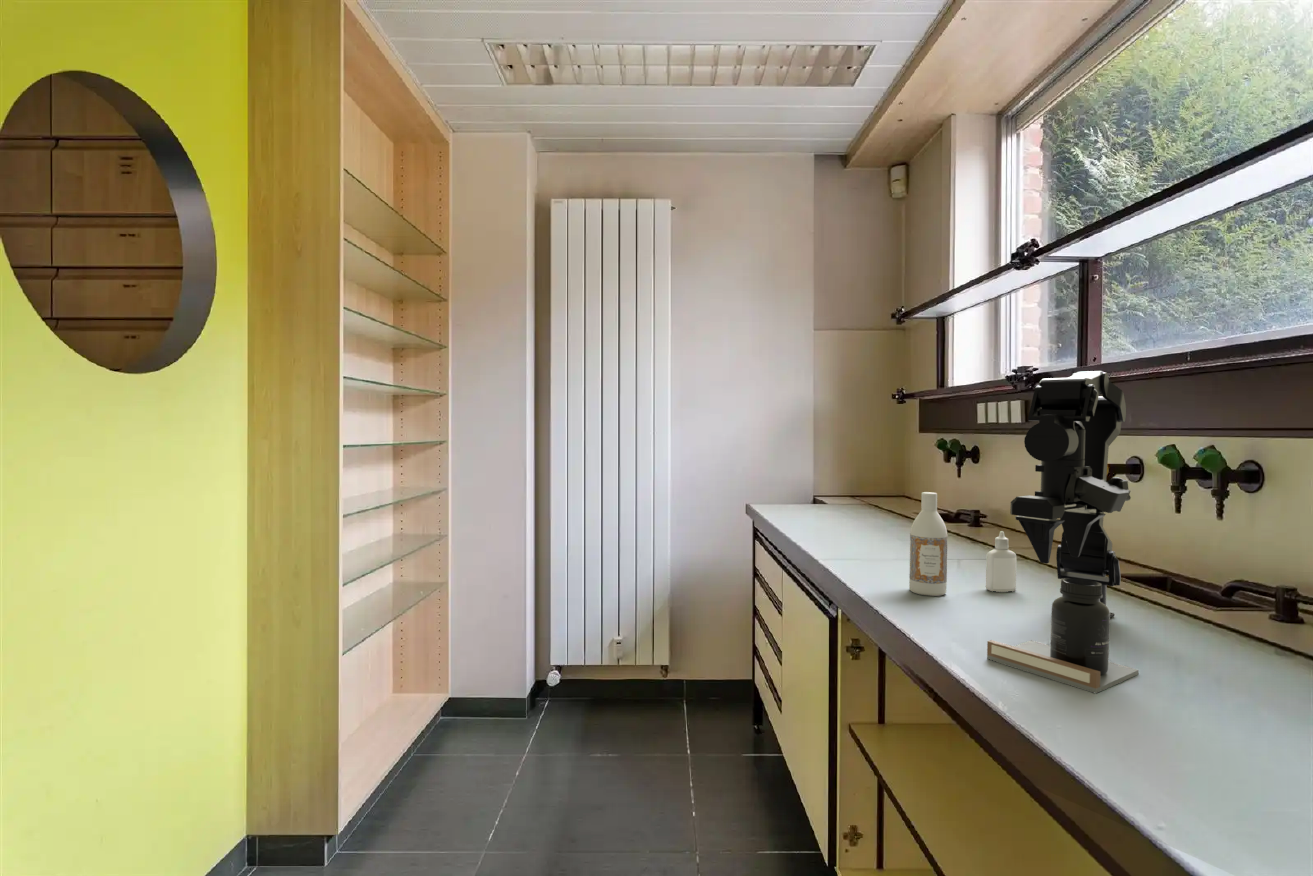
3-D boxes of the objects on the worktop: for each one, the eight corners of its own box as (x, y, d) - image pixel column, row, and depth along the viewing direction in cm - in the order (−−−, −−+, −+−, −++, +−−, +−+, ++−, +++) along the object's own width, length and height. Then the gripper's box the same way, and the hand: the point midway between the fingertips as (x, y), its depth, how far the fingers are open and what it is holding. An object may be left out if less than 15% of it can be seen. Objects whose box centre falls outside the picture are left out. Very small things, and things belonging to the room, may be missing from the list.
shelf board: (1031, 644, 105) (1031, 627, 105) (1138, 674, 92) (1139, 655, 92) (986, 659, 98) (986, 641, 98) (1095, 693, 86) (1095, 673, 86)
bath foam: (910, 595, 133) (911, 494, 133) (908, 586, 140) (909, 490, 139) (948, 598, 131) (950, 495, 131) (944, 589, 138) (946, 491, 137)
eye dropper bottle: (1017, 594, 134) (1019, 534, 134) (986, 591, 136) (987, 532, 136) (1014, 589, 139) (1015, 530, 138) (984, 586, 141) (985, 529, 140)
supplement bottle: (1111, 681, 88) (1113, 590, 88) (1050, 672, 92) (1052, 583, 91) (1106, 664, 94) (1108, 579, 94) (1049, 656, 98) (1051, 573, 97)
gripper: (1089, 464, 92) (1086, 577, 93) (1149, 460, 103) (1146, 562, 103) (1009, 459, 102) (1007, 562, 102) (1071, 456, 112) (1069, 550, 112)
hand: (1060, 559), depth 105 cm, fingers open, 9 cm apart
